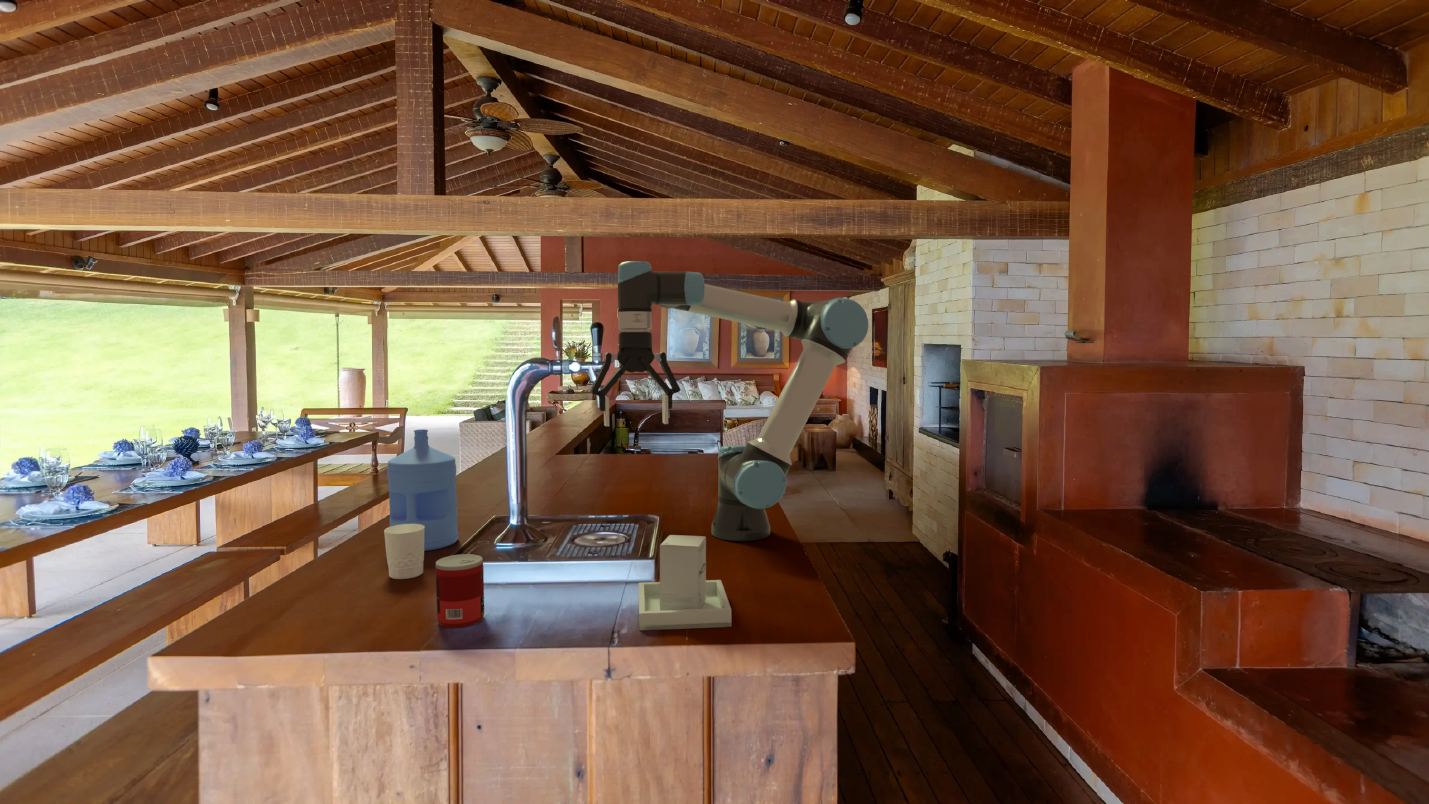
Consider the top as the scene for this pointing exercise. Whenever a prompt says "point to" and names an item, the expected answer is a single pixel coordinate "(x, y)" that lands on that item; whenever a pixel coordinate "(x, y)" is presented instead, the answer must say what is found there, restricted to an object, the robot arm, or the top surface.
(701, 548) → the supplement box
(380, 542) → the top surface
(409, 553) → the white cup
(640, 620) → the sage tray
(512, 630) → the top surface
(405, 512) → the water jug
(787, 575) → the top surface
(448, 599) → the canned food
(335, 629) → the top surface
